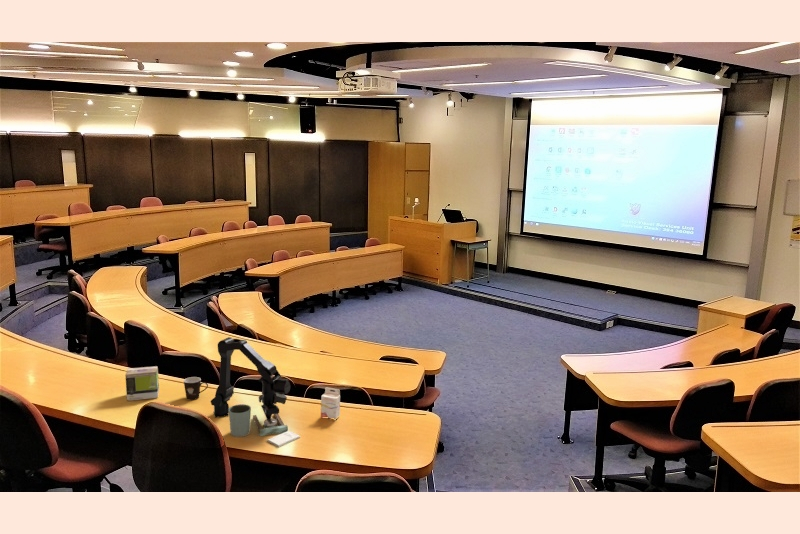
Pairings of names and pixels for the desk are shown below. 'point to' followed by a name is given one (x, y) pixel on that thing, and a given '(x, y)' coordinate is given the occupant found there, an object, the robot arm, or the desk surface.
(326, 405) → the ink cartridge box
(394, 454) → the desk surface
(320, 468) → the desk surface
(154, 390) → the tea box
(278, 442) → the external hard drive
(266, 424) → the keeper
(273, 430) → the channel
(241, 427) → the pale green cup
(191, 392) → the coffee mug
